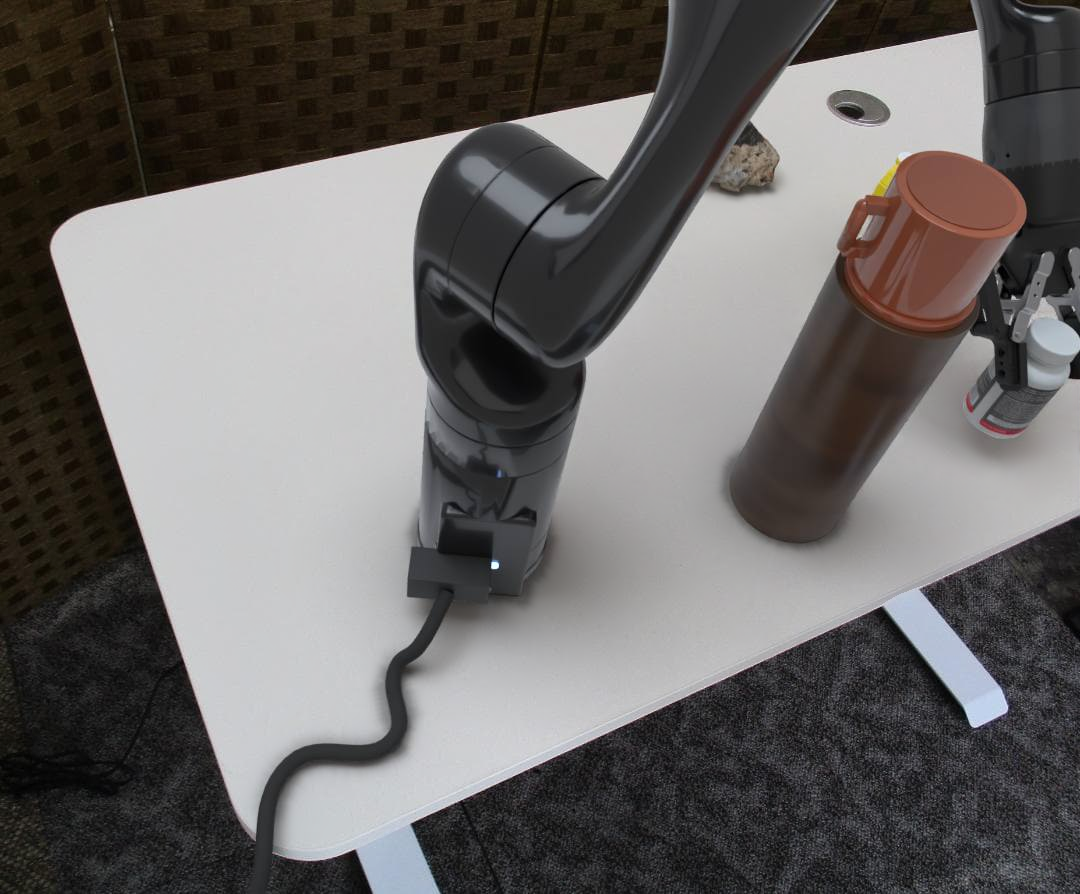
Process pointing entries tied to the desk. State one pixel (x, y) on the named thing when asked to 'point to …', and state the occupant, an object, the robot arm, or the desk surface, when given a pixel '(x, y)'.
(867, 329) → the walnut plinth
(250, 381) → the desk surface
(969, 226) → the upturned cup
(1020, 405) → the pill bottle
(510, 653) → the desk surface
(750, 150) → the rock
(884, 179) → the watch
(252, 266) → the desk surface
